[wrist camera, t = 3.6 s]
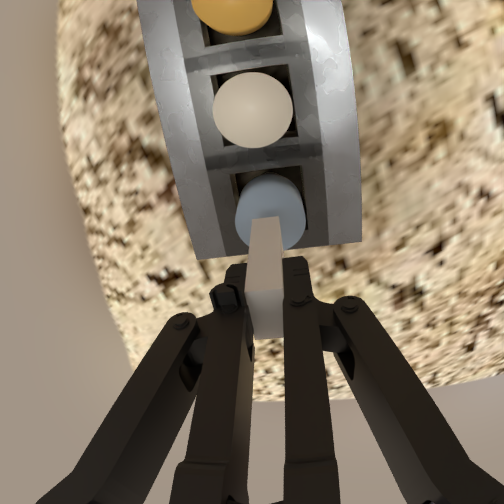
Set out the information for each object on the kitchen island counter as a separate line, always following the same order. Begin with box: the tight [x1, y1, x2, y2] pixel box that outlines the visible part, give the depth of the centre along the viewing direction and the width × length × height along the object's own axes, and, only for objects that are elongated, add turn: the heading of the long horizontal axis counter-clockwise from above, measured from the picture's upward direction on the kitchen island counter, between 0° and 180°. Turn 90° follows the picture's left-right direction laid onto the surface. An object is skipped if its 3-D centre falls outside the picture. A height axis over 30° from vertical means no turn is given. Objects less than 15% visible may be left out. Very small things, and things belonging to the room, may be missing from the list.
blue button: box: [235, 172, 306, 251], centre depth 23 cm, size 4×4×7 cm
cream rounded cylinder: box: [213, 72, 293, 148], centre depth 19 cm, size 4×4×7 cm
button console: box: [137, 0, 362, 260], centre depth 22 cm, size 24×14×6 cm, turn 9°
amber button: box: [191, 0, 273, 36], centre depth 16 cm, size 4×4×7 cm
